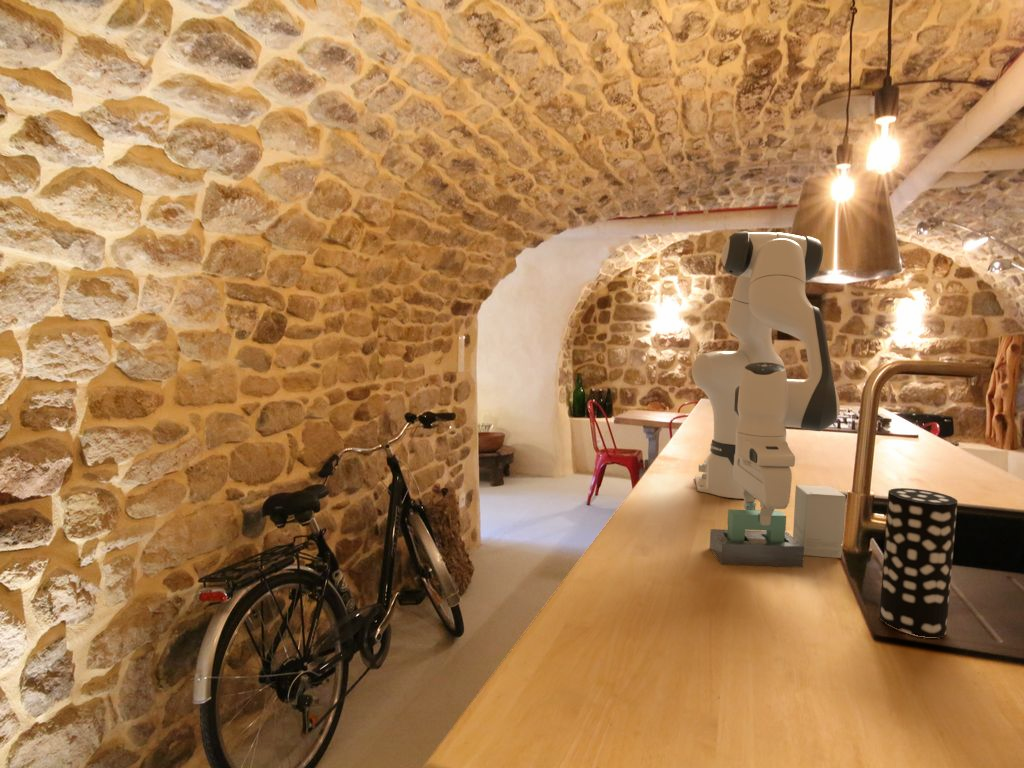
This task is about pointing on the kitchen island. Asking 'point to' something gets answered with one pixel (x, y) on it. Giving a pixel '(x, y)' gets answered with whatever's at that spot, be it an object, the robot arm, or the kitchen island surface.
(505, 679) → the kitchen island surface
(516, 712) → the kitchen island surface
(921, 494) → the white-spotted black cylinder
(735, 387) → the robot arm
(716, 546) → the gray socket base
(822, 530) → the supplement box
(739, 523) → the green u-shaped block
